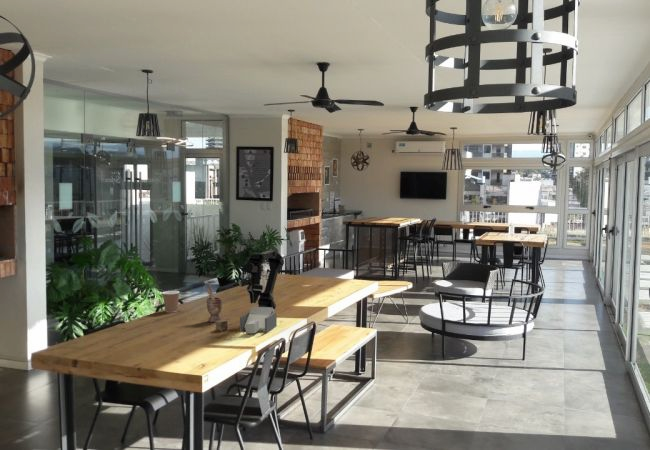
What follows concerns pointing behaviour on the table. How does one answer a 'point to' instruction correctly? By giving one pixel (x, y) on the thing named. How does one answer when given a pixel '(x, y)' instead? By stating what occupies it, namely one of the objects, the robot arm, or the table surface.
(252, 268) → the robot arm
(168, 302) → the coffee cup
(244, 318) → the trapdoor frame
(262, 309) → the trapdoor
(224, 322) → the stand
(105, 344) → the table surface
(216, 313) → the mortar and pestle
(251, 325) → the grey rectangular block
